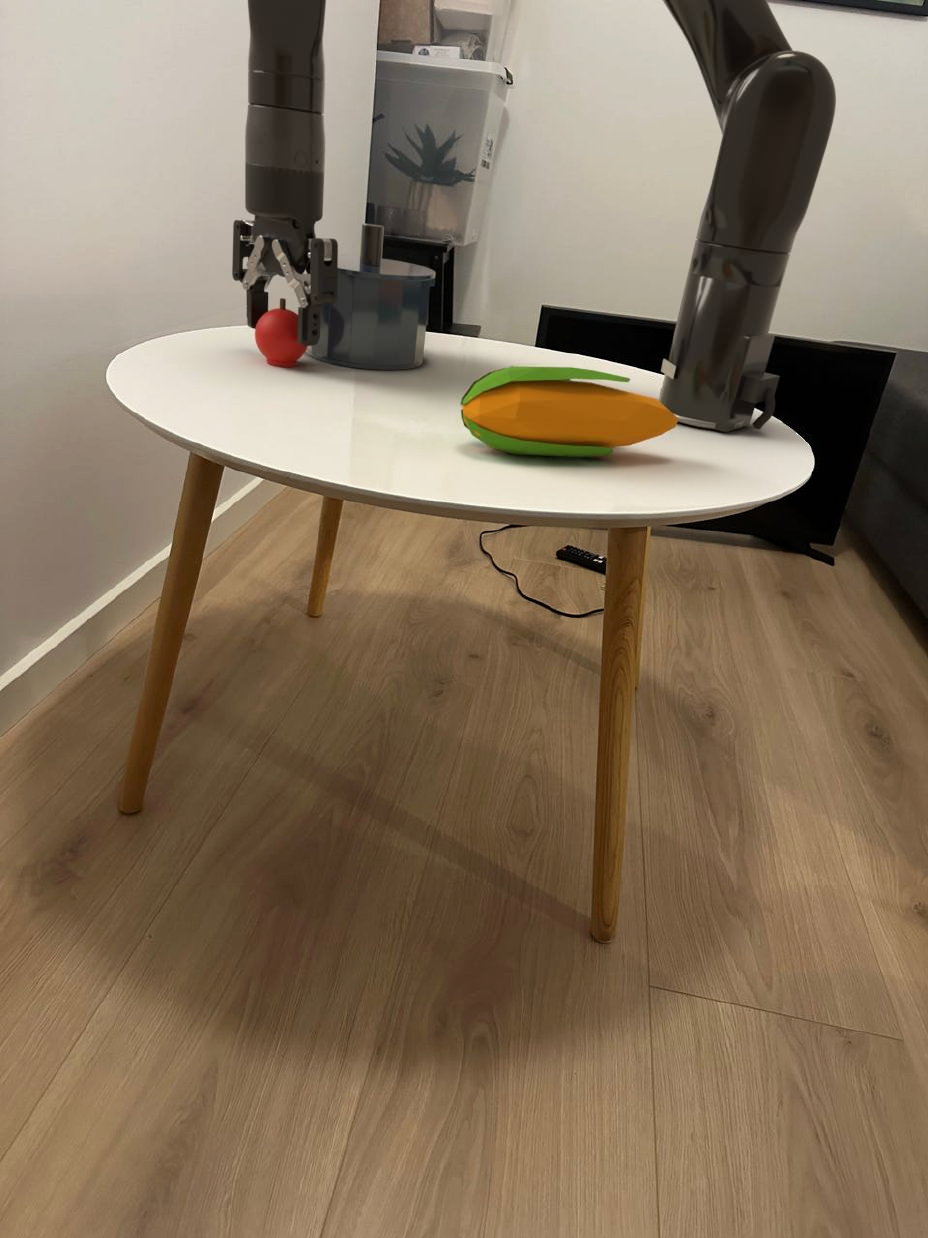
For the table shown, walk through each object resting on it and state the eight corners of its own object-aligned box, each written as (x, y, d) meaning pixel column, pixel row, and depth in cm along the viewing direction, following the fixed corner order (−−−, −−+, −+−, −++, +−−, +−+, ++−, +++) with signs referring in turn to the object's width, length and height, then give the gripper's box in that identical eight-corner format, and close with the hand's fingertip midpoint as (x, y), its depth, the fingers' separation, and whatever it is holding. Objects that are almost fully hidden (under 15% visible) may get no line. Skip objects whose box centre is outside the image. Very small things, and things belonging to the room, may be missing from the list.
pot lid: (461, 285, 97) (466, 236, 94) (365, 287, 87) (368, 232, 84) (373, 263, 105) (376, 218, 102) (276, 263, 95) (277, 212, 92)
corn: (456, 346, 72) (668, 360, 77) (444, 432, 76) (647, 440, 81) (479, 374, 66) (707, 387, 71) (466, 466, 70) (683, 472, 75)
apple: (318, 367, 92) (321, 303, 89) (276, 371, 88) (277, 304, 85) (286, 355, 95) (287, 292, 92) (244, 358, 91) (243, 293, 88)
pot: (461, 362, 103) (471, 279, 98) (340, 376, 90) (345, 280, 85) (383, 338, 110) (389, 259, 106) (261, 347, 97) (262, 257, 93)
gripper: (363, 174, 81) (353, 348, 89) (271, 159, 89) (269, 320, 97) (301, 168, 76) (296, 353, 84) (209, 152, 84) (212, 323, 92)
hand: (282, 336), depth 90 cm, fingers open, 8 cm apart
